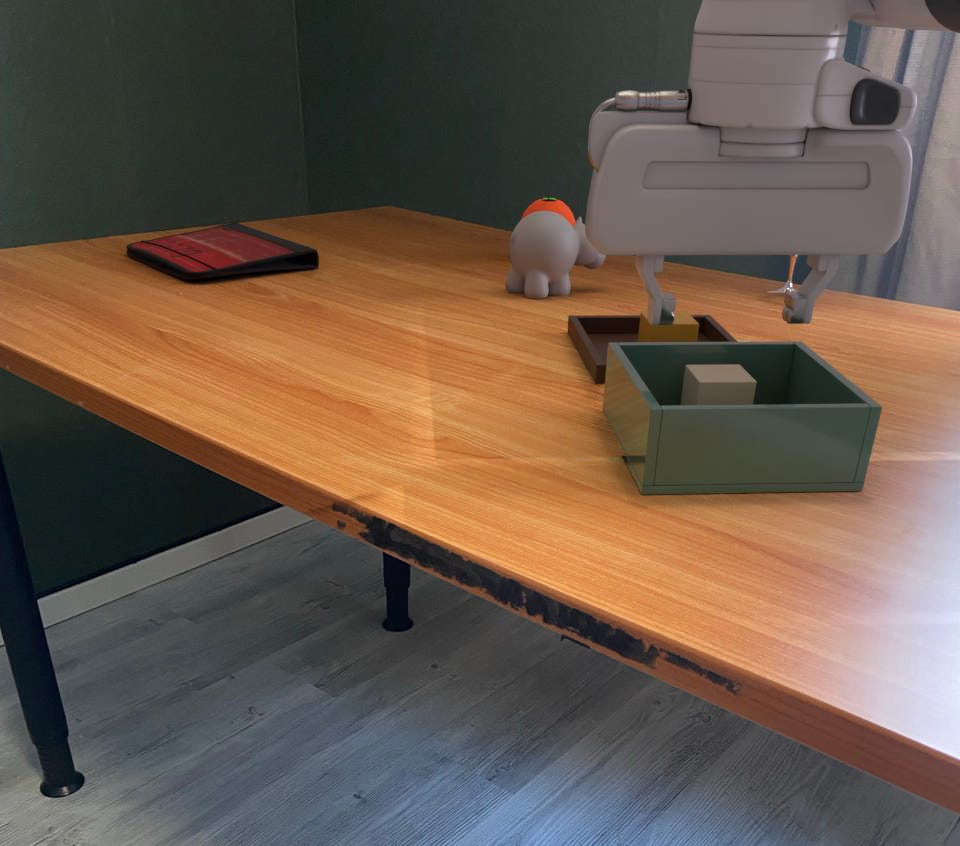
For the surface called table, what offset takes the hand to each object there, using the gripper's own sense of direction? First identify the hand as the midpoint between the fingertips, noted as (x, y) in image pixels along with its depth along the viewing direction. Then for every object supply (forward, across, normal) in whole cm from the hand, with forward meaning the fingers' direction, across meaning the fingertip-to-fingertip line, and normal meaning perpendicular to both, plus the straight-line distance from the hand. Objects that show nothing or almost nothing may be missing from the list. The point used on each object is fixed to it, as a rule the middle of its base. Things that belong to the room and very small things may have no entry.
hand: (728, 322), depth 68 cm
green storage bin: (+8, 0, -3) cm, 9 cm away
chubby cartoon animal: (+8, -5, +43) cm, 44 cm away
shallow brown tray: (+8, 0, +18) cm, 20 cm away
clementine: (+8, -4, +62) cm, 63 cm away
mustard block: (+8, 0, +15) cm, 17 cm away
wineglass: (+8, +20, +42) cm, 47 cm away
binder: (+8, -44, +60) cm, 75 cm away
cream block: (+7, 0, 0) cm, 7 cm away
